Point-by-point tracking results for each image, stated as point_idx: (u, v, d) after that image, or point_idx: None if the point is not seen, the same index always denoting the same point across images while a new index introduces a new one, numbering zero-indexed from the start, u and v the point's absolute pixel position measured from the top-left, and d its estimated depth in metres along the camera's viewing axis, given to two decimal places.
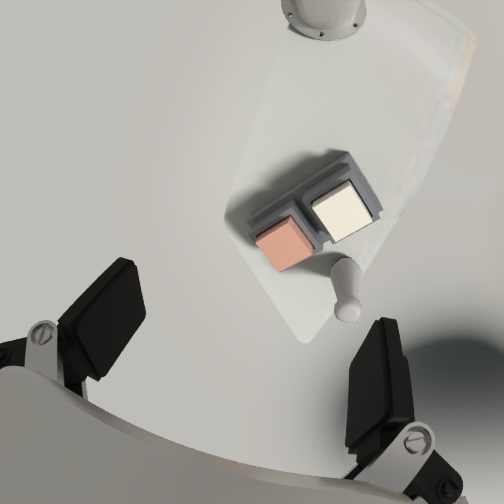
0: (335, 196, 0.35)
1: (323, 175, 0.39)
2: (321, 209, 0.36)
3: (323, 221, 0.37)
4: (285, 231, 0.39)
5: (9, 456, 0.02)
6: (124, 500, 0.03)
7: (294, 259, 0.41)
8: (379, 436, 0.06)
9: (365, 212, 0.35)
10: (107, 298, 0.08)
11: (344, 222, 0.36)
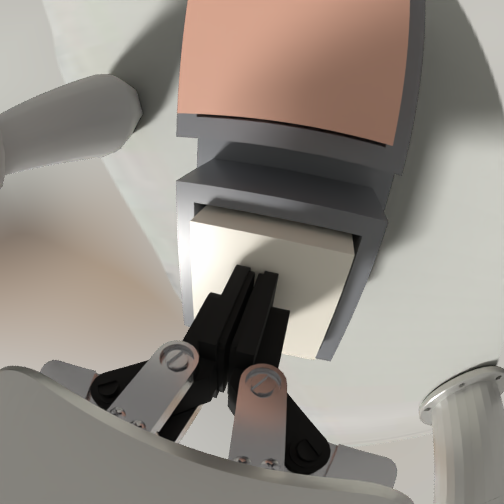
0: (322, 324, 0.11)
1: None
2: (325, 272, 0.10)
3: (285, 245, 0.10)
4: (368, 97, 0.06)
5: (9, 456, 0.02)
6: (124, 500, 0.03)
7: (206, 26, 0.06)
8: (232, 373, 0.07)
9: None
10: (240, 309, 0.09)
11: None
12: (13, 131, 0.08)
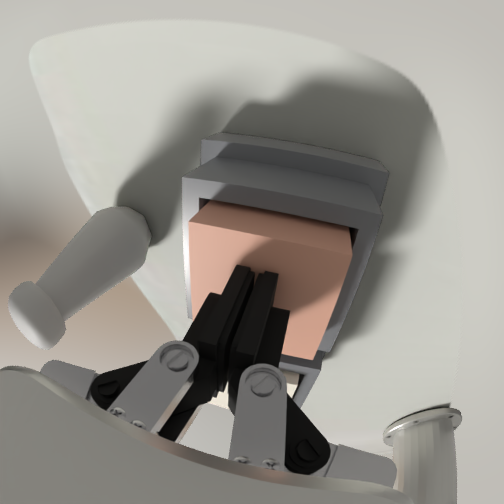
0: None
1: None
2: None
3: None
4: (299, 342, 0.12)
5: (9, 456, 0.02)
6: (124, 500, 0.03)
7: (205, 293, 0.12)
8: (232, 373, 0.07)
9: (226, 407, 0.19)
10: (241, 309, 0.09)
11: None
12: (62, 298, 0.14)
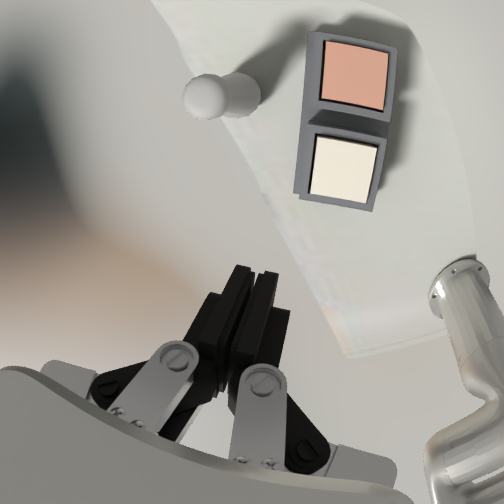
0: (368, 180, 0.26)
1: None
2: (367, 155, 0.25)
3: (353, 145, 0.24)
4: (375, 97, 0.21)
5: (9, 456, 0.02)
6: (124, 500, 0.03)
7: (331, 73, 0.21)
8: (232, 373, 0.07)
9: (326, 194, 0.28)
10: (240, 309, 0.09)
11: (334, 165, 0.26)
12: None
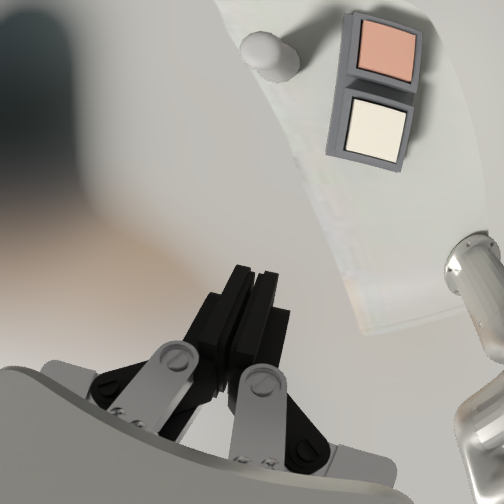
0: (398, 141, 0.26)
1: None
2: (398, 119, 0.25)
3: (385, 109, 0.25)
4: (404, 69, 0.22)
5: (9, 456, 0.02)
6: (124, 500, 0.03)
7: (368, 46, 0.21)
8: (232, 373, 0.07)
9: (361, 151, 0.28)
10: (240, 309, 0.09)
11: (368, 125, 0.26)
12: None
